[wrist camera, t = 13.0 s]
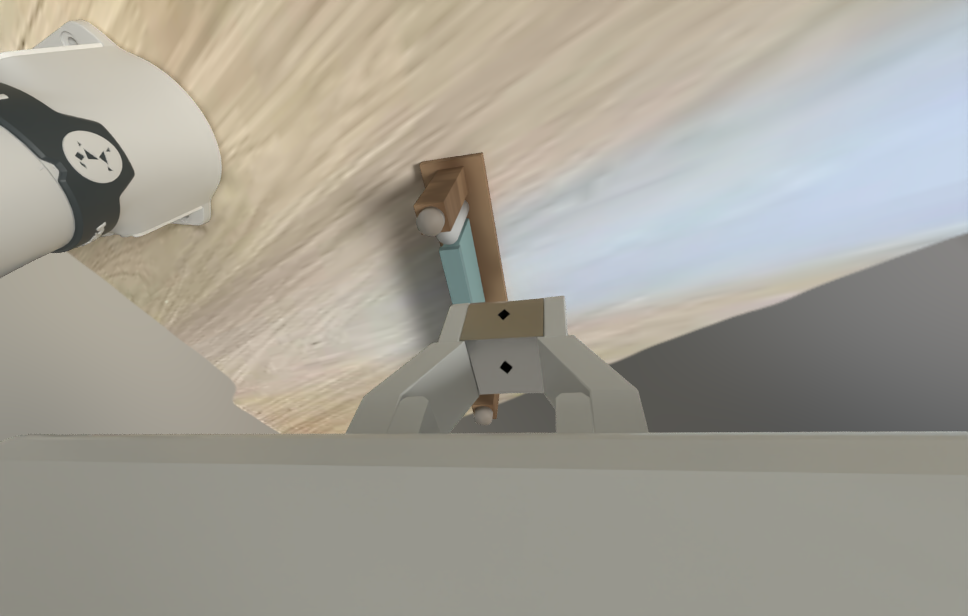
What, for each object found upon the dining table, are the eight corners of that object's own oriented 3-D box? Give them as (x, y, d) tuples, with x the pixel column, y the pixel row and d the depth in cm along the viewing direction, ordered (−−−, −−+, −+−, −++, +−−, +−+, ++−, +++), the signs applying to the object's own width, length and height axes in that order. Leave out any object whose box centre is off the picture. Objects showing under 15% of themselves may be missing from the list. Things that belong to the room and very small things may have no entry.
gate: (447, 199, 38) (431, 227, 33) (467, 196, 37) (454, 225, 32) (480, 346, 49) (472, 385, 43) (495, 345, 48) (490, 385, 43)
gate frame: (474, 364, 53) (460, 432, 44) (421, 161, 37) (384, 204, 28) (518, 362, 51) (513, 432, 43) (482, 152, 36) (462, 194, 27)
